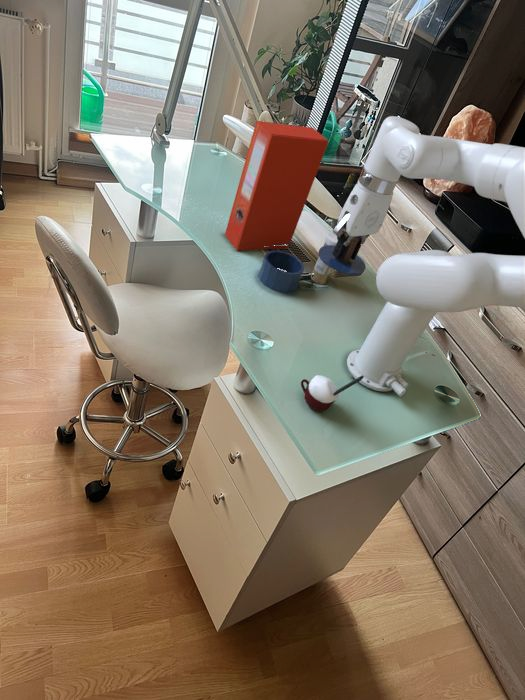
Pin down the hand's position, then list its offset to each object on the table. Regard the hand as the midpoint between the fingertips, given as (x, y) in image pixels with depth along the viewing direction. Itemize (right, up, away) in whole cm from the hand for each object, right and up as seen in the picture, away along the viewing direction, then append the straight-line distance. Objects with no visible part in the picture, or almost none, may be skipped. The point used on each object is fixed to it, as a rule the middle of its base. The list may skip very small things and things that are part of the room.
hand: (343, 256), depth 115 cm
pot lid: (0, -1, +1) cm, 1 cm away
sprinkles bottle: (-4, -2, +23) cm, 23 cm away
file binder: (-20, +9, +29) cm, 36 cm away
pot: (-15, -4, +16) cm, 22 cm away
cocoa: (-8, -33, -14) cm, 36 cm away
